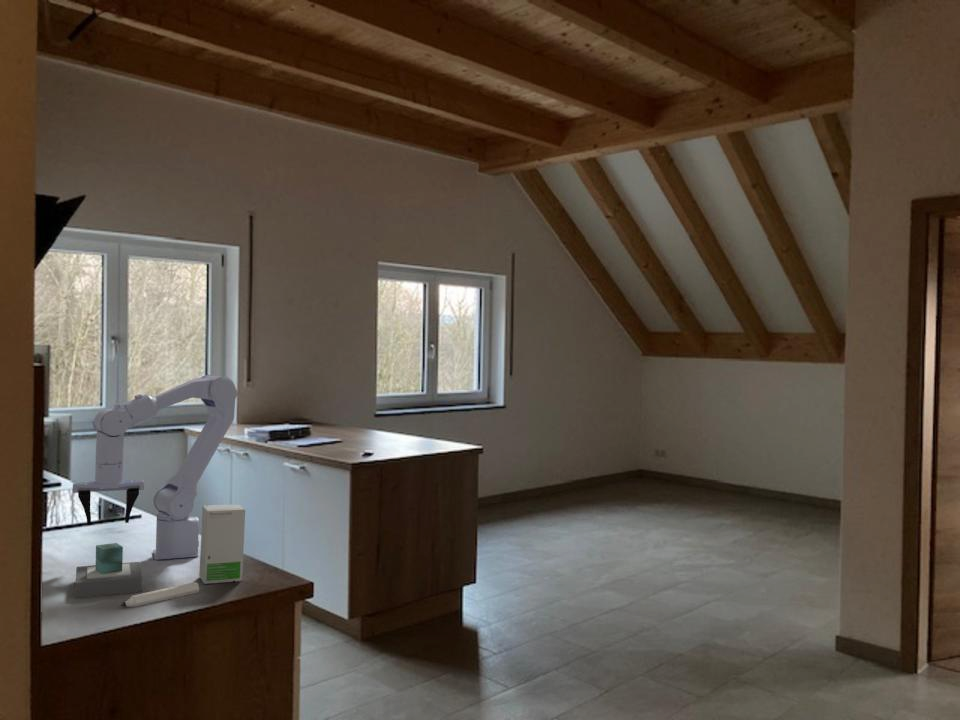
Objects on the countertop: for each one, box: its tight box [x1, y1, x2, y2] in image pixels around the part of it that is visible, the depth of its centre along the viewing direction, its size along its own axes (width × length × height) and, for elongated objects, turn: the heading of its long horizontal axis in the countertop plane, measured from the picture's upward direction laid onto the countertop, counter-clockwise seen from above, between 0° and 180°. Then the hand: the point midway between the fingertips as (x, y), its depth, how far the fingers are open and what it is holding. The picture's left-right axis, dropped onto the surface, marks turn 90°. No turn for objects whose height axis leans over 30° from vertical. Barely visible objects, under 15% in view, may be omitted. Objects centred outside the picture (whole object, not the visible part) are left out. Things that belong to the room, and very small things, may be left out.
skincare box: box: [198, 504, 246, 585], centre depth 172 cm, size 8×7×16 cm
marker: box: [117, 581, 200, 608], centre depth 157 cm, size 3×2×16 cm
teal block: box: [95, 542, 124, 574], centre depth 164 cm, size 4×4×5 cm
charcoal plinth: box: [74, 561, 143, 599], centre depth 164 cm, size 12×12×3 cm
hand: (108, 523), depth 179 cm, fingers open, 7 cm apart
